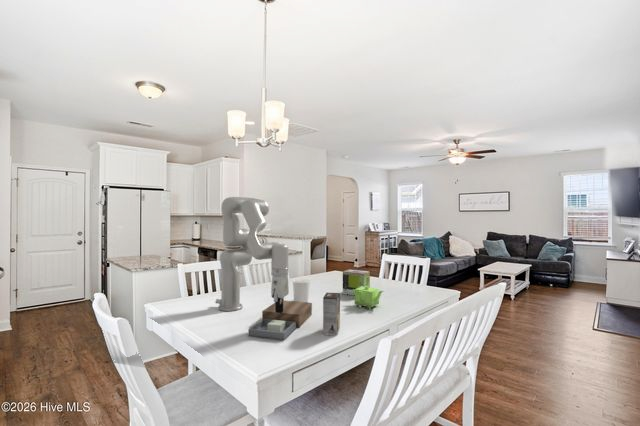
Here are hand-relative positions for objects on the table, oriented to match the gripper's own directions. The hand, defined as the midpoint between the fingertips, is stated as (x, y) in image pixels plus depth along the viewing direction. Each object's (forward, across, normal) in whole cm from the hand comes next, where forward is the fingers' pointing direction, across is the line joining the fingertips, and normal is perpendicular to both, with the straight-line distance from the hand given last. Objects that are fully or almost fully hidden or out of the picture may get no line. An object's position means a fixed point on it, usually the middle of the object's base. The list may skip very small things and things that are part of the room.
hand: (279, 312), depth 149 cm
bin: (+7, -7, 0) cm, 10 cm away
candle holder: (+7, +43, +4) cm, 44 cm away
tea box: (+7, +70, -24) cm, 75 cm away
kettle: (+7, +44, -34) cm, 56 cm away
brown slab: (+7, +11, 0) cm, 13 cm away
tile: (+3, -5, -1) cm, 6 cm away
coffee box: (+7, +1, -24) cm, 25 cm away
